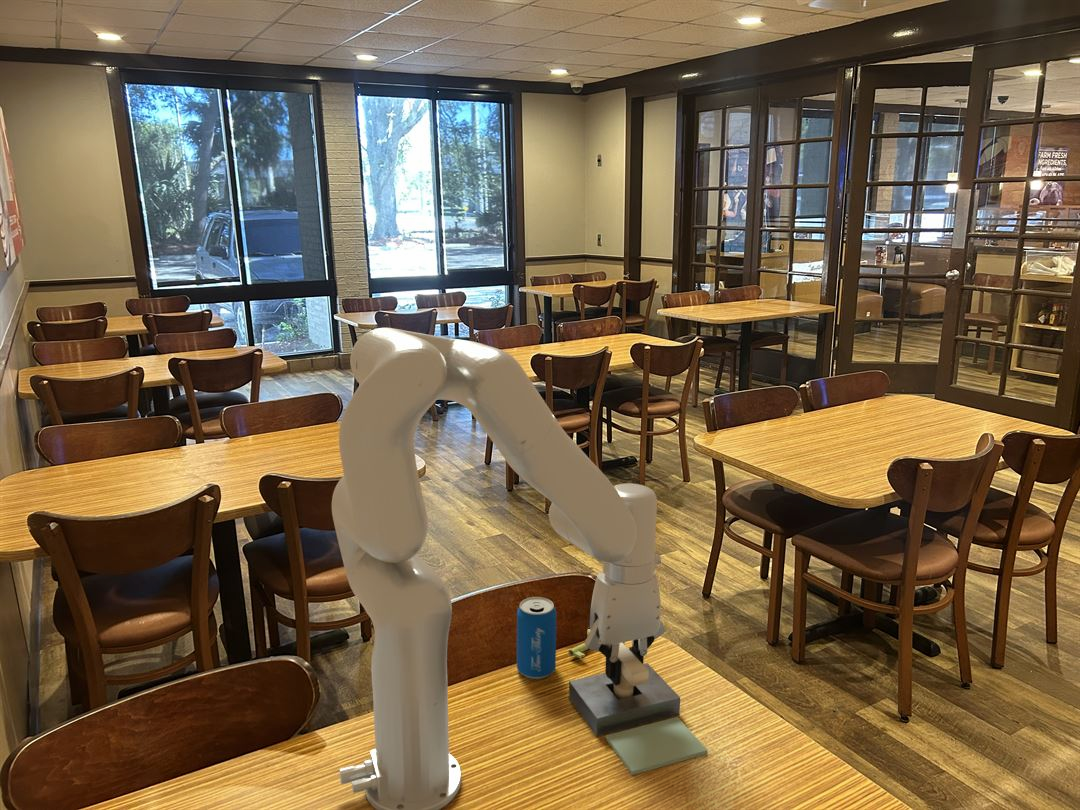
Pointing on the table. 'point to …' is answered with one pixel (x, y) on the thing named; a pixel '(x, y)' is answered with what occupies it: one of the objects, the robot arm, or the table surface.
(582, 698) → the lock housing
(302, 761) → the table surface
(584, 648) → the key
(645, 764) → the mat
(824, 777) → the table surface
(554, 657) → the beverage can
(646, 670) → the t key
